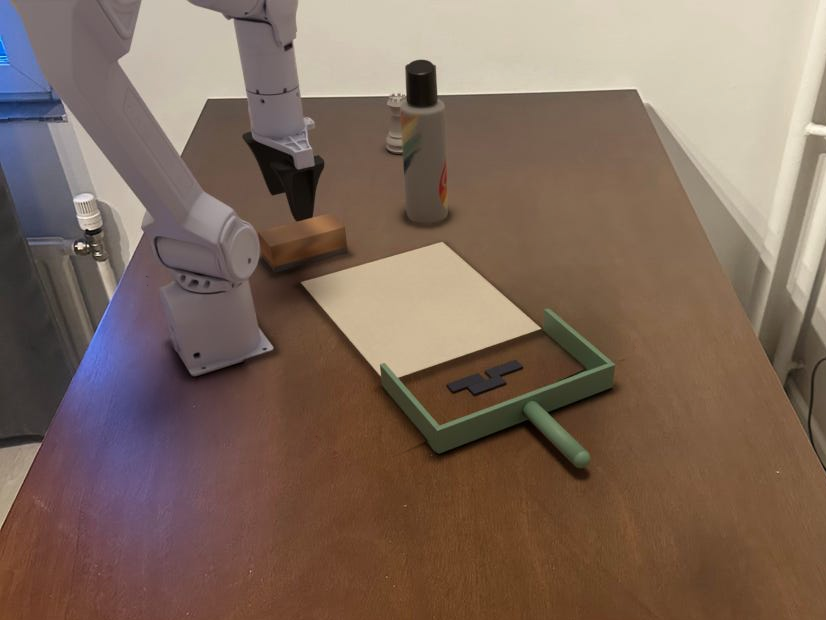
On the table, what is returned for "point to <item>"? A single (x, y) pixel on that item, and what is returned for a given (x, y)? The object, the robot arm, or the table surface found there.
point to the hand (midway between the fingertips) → (291, 205)
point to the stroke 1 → (464, 383)
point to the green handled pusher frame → (518, 400)
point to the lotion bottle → (424, 145)
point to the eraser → (303, 242)
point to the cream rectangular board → (418, 309)
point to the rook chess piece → (395, 124)
